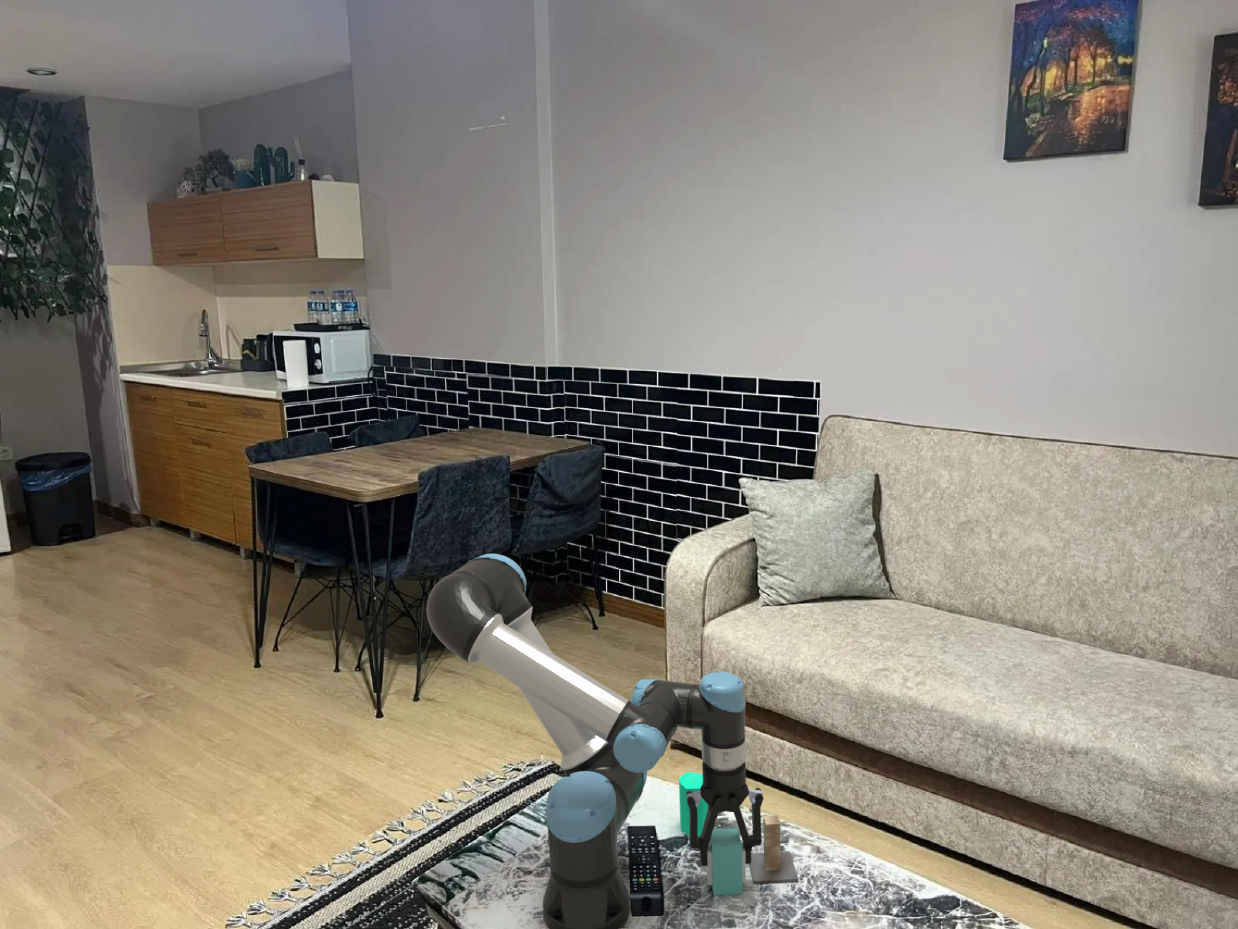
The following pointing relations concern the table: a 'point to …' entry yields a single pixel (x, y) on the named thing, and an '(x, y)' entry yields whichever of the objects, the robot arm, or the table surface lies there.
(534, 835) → the table surface
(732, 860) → the turquoise rectangular block
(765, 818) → the gray square base stand
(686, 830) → the candle
